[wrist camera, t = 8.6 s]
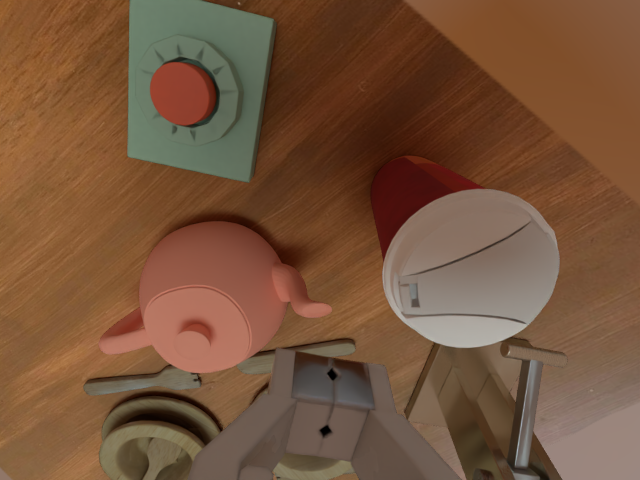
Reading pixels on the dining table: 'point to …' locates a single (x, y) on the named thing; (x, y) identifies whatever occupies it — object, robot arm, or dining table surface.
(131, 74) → the button box
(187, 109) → the button
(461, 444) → the metal lever stand
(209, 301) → the teapot
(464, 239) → the coffee cup
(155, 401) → the tableware set
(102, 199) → the dining table surface
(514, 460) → the lever
